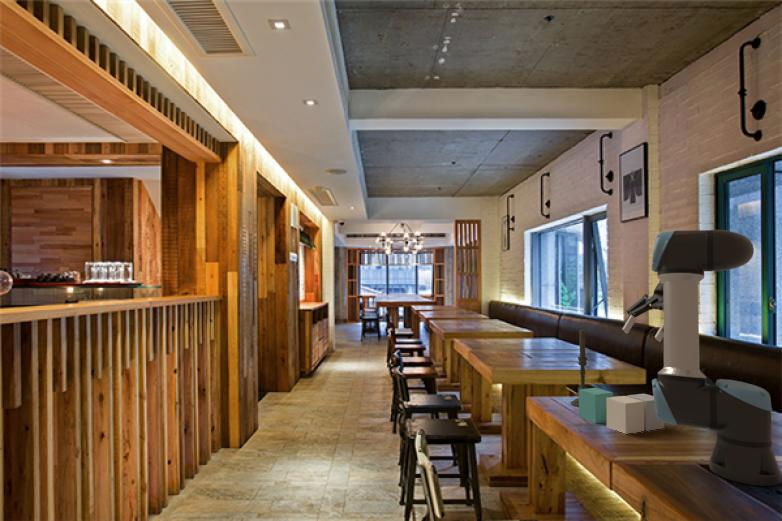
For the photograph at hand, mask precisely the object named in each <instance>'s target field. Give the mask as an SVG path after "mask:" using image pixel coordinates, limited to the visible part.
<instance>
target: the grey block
mask: <svg viewBox="0 0 782 521" xmlns="http://www.w3.org/2000/svg"><path fill="white" fill-rule="evenodd" d="M626 396H627V397H630V398H634V399H637V400H641V401H644V430H646V431H648V432H650V431H649V430H654V429H661V428H664V429H665V423H664V422H661V421H660V420H659V419H658V417H657V414H656V409H655V403H654V396H653V395H650V394H648V393H647V394H646V393H638V394H628V395H626ZM661 430H662V429H661ZM646 431H645V432H646ZM654 431H655V430H654Z"/></svg>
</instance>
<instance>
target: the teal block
mask: <svg viewBox="0 0 782 521" xmlns="http://www.w3.org/2000/svg"><path fill="white" fill-rule="evenodd" d="M610 397H614V392H612V391H608V390H605V389H603V388H602V389H601V388H598V387H592V388H591V387H590V388H587V389H580V390H578V398H579V407H578V417H579V418H580V419H582V420H585V421H588V422H590V423H593V424H604V423H607V398H610Z"/></svg>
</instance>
